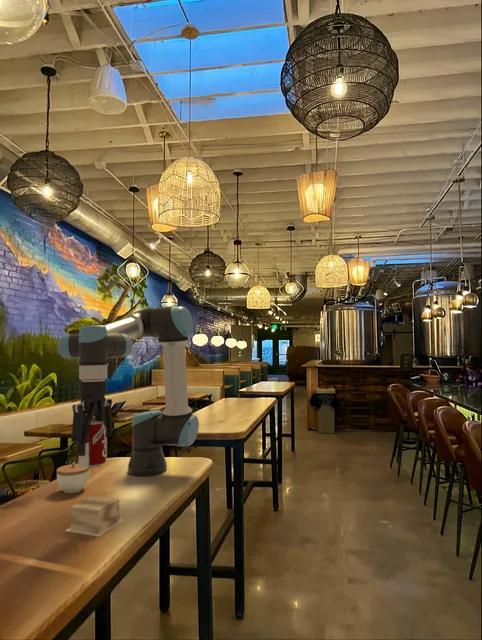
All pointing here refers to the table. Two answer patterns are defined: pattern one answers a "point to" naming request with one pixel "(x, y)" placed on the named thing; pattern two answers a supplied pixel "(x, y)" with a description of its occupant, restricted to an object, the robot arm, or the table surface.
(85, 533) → the grey square plate
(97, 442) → the soda can
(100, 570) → the table surface
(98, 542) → the table surface
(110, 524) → the beech block
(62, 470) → the lidded jar
